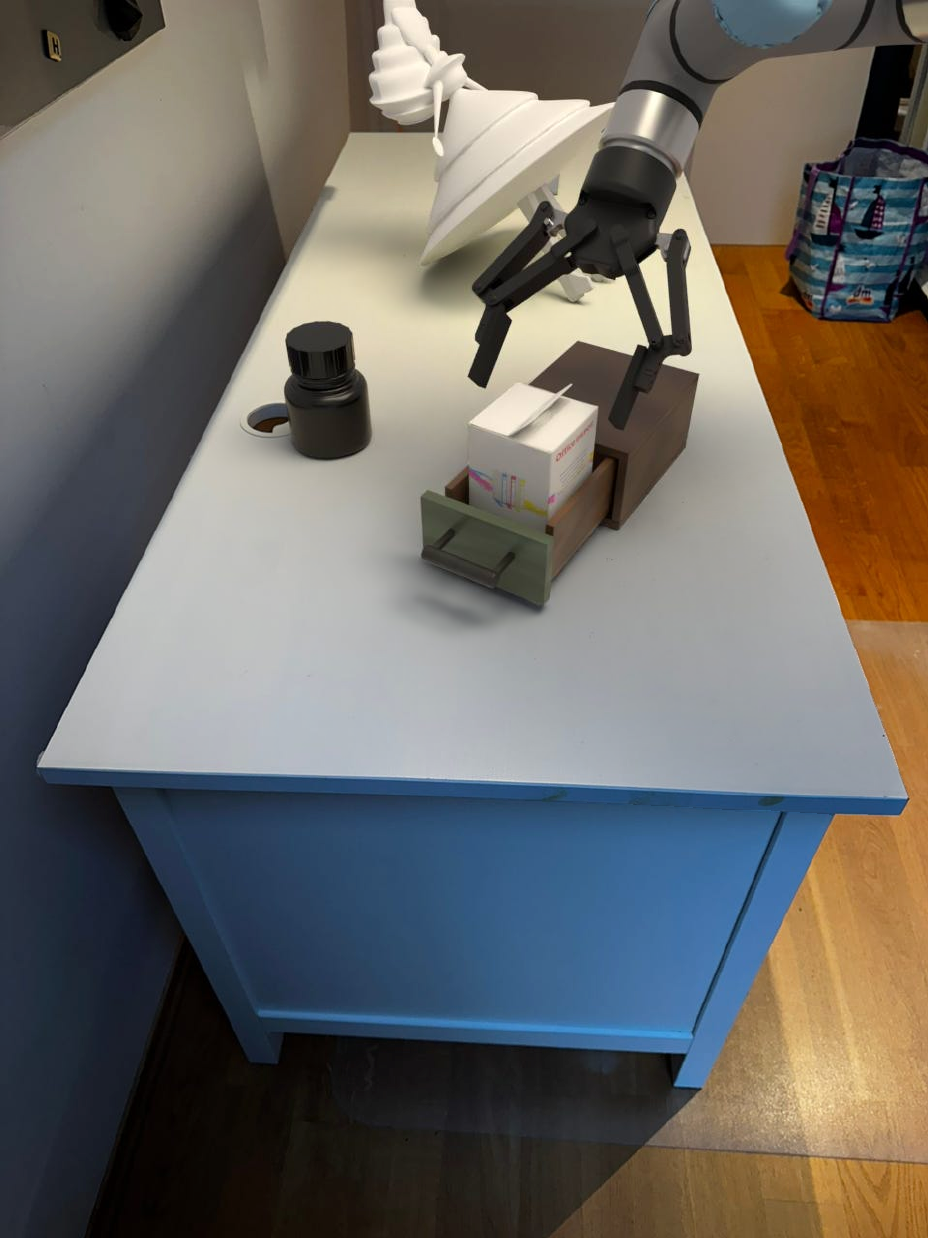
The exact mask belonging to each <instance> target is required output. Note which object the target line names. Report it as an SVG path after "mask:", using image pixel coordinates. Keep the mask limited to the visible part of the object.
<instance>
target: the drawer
mask: <svg viewBox="0 0 928 1238" xmlns="http://www.w3.org/2000/svg"><path fill="white" fill-rule="evenodd" d="M618 465H619V459H618V458H615V457H612V456H608V455H605V454H602V453H599V452H596V451H594V453H593V464H592V474H591V475H590V476H589V477H588V478H587V479H586V480H585V482H584V483H583V484H582V485H581V486H580V487H579V488H578V489H577V490H576V491H575V493H574V494H573V495H572V496H571V497H570V498H569V499H568V500H567V501H566V502H565V504H564V505H563V506H562V507H561V508H560V509H559V510H558V511H557V512H556V514H555V515H554V516H553V517H552V518H551V519H550V520H549V521H548V522H547V523H546V530H545V533H542V532H539V531H537V530H534V529H531V528H529V527H526V526H523V525H521V524H518V523H515V522H513V521H510V520H507V519H505V518H502V517H499V516H497V515H494V514H491V513H488V512H486V511H483V510H480V509H478V508H475V507H472V506H470V505H469V464H468V465H467V466H465V467H464V468H463V469H462V470H461V471H460V472H458V474H457V475H456V476H455V477H453V478H452V479H451V480H450V481H449V482H448V483H447V484H446V485H445V486H444V495H443V494H440V493H437V492H435V491H432V490H429V489H427V490H426V491H425V492H424V493H423V494H421V495H420V497H419V498H420V514H421V515H420V516H421V532H422V534H421V535H422V550H421V554H420V559H421V560H422V561H425V562H426V563H430V564H432V565H434V566H437V567H439V568H442V569H444V570H446V571H449V572H451V573H454V574H455V575H458V576H461V577H463V578H465V579H468V580H470V581H473V582H476V583H478V584H480V585H483V586H486V587H488V588H490V589H495V588H498V589H501V590H504V591H506V592H508V593H510V594H513V595H516V596H518V597H520V598H523V599H525V600H528V601H530V602H533V603H535V604H537V605H540V606H542V607H544V606H545V605H546V603H547V602H548V601H549V599H550V598H551V588H552V587H551V586H552V581H553V580H554V579H555V577H556V576H557V575H558V574H559V573H560V572H561V570H562V569H563V568H564V566H565V565H566V564H567V563H568V562H569V561H570V559H571V558H572V557H573V556H574V555H575V554H576V552H577V551H578V550H579V549H580V547H582V545H583V544H584V543H585V542H586V541H587V539H588V538H589V537H590V536H591V534H593V532H594V531H595V530H596V529H597V528H598V526H599V525H601V524H600V522H601V521H602V520H603V519H604V518H605V517H606V515H607V514H608V513H609V512H610V511H611V509H612V508H613V504H614V496H615V488H616V480H617V473H618Z"/></svg>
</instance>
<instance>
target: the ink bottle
mask: <svg viewBox="0 0 928 1238" xmlns="http://www.w3.org/2000/svg"><path fill="white" fill-rule="evenodd" d="M353 335H354V333H353V331H352V330H351V329H350V327H349V326H347V325H344V324H343V323H341V322H335V321H330V320H321V321H320V320H316V321H310V322H305V323H302V324H300V325H298V326H295V327H293V328H292V329H291V330H289V332H287V333H286V336H285V340H284V341H285V349H286V354H287V361H288V367H289V368H290V369H289V370H290V374H291V375H289V377H288V378H287V379H286V381H285V383H284V386H283V398H284V402H285V408H286V409H285V410H286V414H287V420H288V427H289V432H290V439H291V441H292V443H293V445H294V446H295V448H296V449H297V450H299V451H300V453H303V454H304V455H306V456H309V457H313V458H322V459H328V458H329V459H330V458H339V457H344V456H347V455H351V454H354V453H356V452H358V451H360V450H362V449H363V448H364V447H366V446H367V445H368V444H369V442H370V441H371V439H372V434H373V429H372V427H373V426H372V417H371V407H370V395H369V387H368V382H367V379H366V377H365V375H363V373H362V371H360V370H358V369H356V354H355V352H356V351H355V344H354V336H353Z"/></svg>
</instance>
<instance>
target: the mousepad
mask: <svg viewBox="0 0 928 1238" xmlns="http://www.w3.org/2000/svg"><path fill="white" fill-rule="evenodd" d="M559 182H560V174H558V175H557V176H556V177H555V178H554V179H553V180H552V181H551V182H550V183H548V184H547V186H548V187H549V189H550V190H551V192H552V194H553V195H558V193H559V184H560V183H559Z"/></svg>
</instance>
